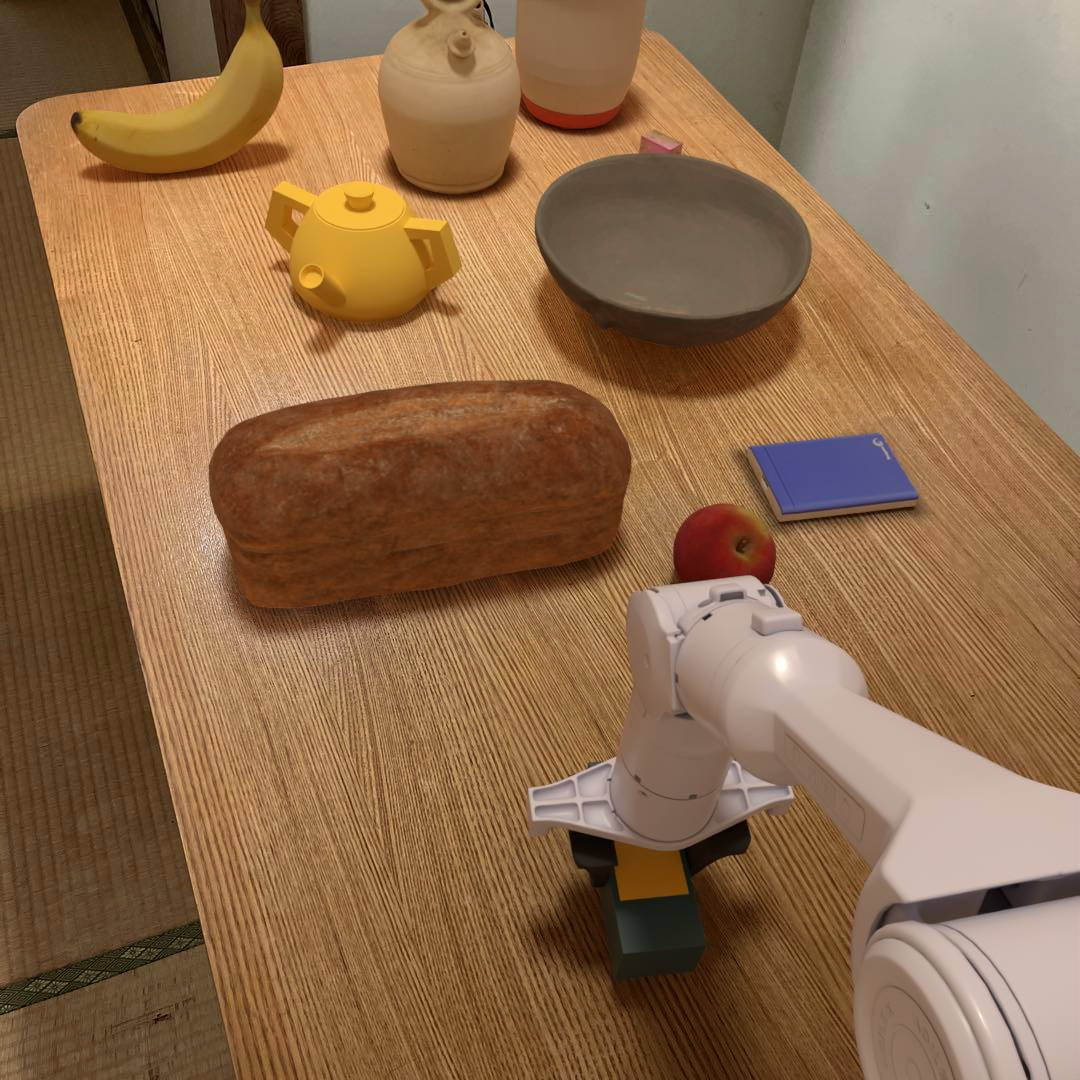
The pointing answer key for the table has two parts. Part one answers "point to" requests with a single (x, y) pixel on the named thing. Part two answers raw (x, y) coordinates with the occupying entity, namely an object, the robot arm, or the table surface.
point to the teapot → (360, 250)
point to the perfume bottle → (659, 143)
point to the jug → (449, 99)
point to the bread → (417, 489)
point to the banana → (195, 114)
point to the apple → (723, 545)
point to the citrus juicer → (577, 58)
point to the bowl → (672, 247)
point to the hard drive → (831, 477)
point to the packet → (651, 913)
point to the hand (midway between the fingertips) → (639, 867)
